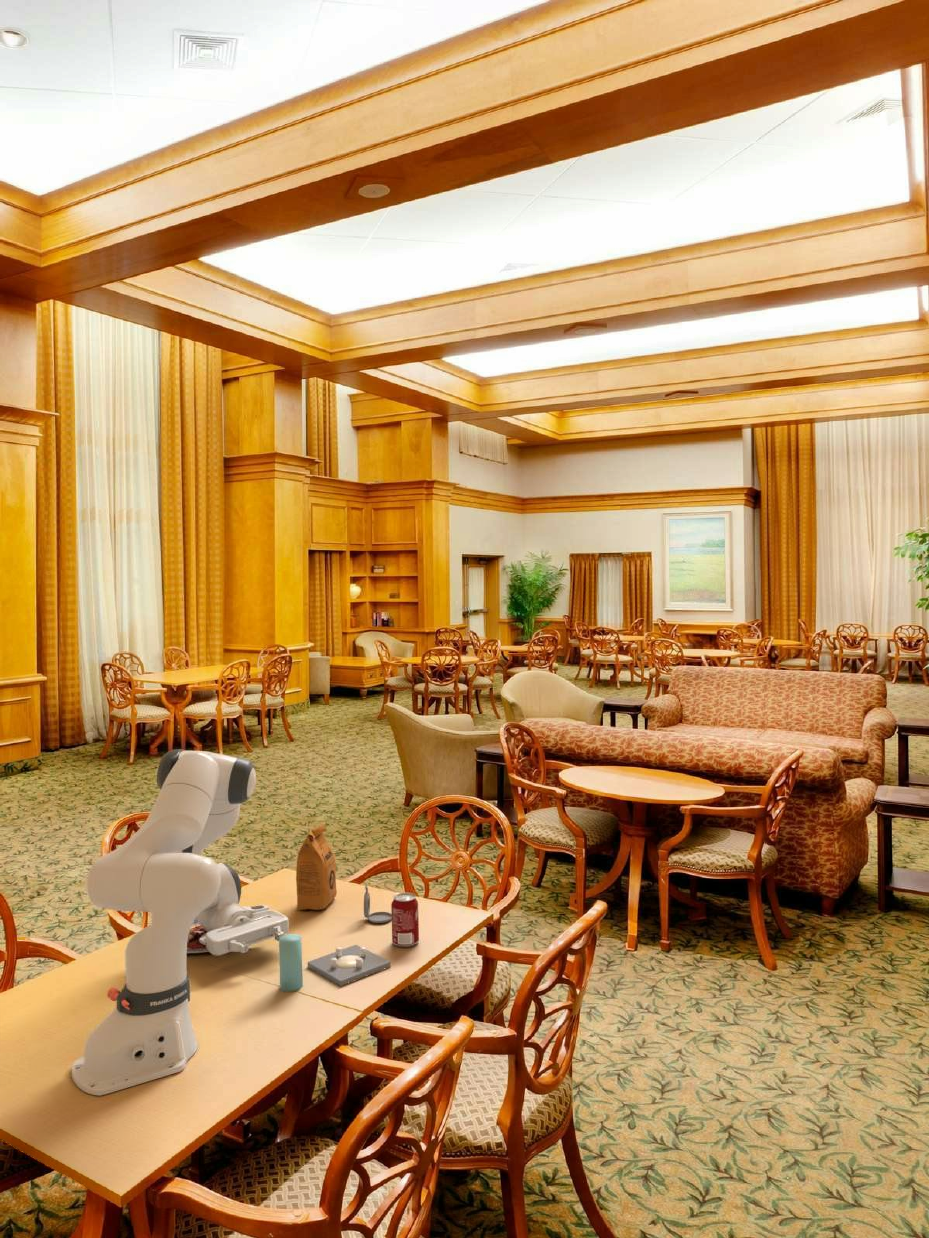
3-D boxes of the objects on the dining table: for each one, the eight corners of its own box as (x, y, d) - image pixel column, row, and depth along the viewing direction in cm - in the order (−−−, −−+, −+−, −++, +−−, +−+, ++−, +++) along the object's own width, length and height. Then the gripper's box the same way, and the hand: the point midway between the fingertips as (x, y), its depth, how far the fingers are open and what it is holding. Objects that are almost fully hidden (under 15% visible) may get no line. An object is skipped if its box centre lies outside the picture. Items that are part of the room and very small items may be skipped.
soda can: (415, 949, 208) (414, 901, 208) (388, 947, 209) (387, 900, 209) (421, 938, 215) (420, 892, 214) (396, 936, 216) (395, 890, 216)
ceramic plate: (276, 930, 224) (276, 919, 224) (206, 968, 202) (205, 956, 202) (205, 914, 236) (205, 903, 236) (130, 949, 214) (130, 937, 213)
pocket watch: (396, 920, 227) (396, 884, 227) (369, 928, 222) (368, 890, 222) (382, 911, 234) (381, 876, 233) (355, 918, 229) (354, 882, 229)
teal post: (287, 993, 186) (286, 944, 186) (276, 986, 190) (274, 938, 189) (307, 986, 189) (305, 938, 189) (295, 979, 193) (294, 932, 193)
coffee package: (342, 898, 245) (340, 823, 244) (324, 914, 233) (322, 835, 232) (311, 895, 247) (309, 821, 247) (291, 911, 235) (289, 833, 235)
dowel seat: (341, 986, 189) (340, 972, 189) (307, 966, 199) (307, 953, 199) (390, 966, 199) (390, 953, 198) (356, 949, 209) (355, 936, 209)
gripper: (195, 925, 202) (222, 943, 191) (271, 902, 215) (300, 917, 205) (196, 951, 202) (223, 970, 192) (272, 927, 216) (300, 943, 206)
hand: (263, 942), depth 199 cm, fingers open, 8 cm apart
